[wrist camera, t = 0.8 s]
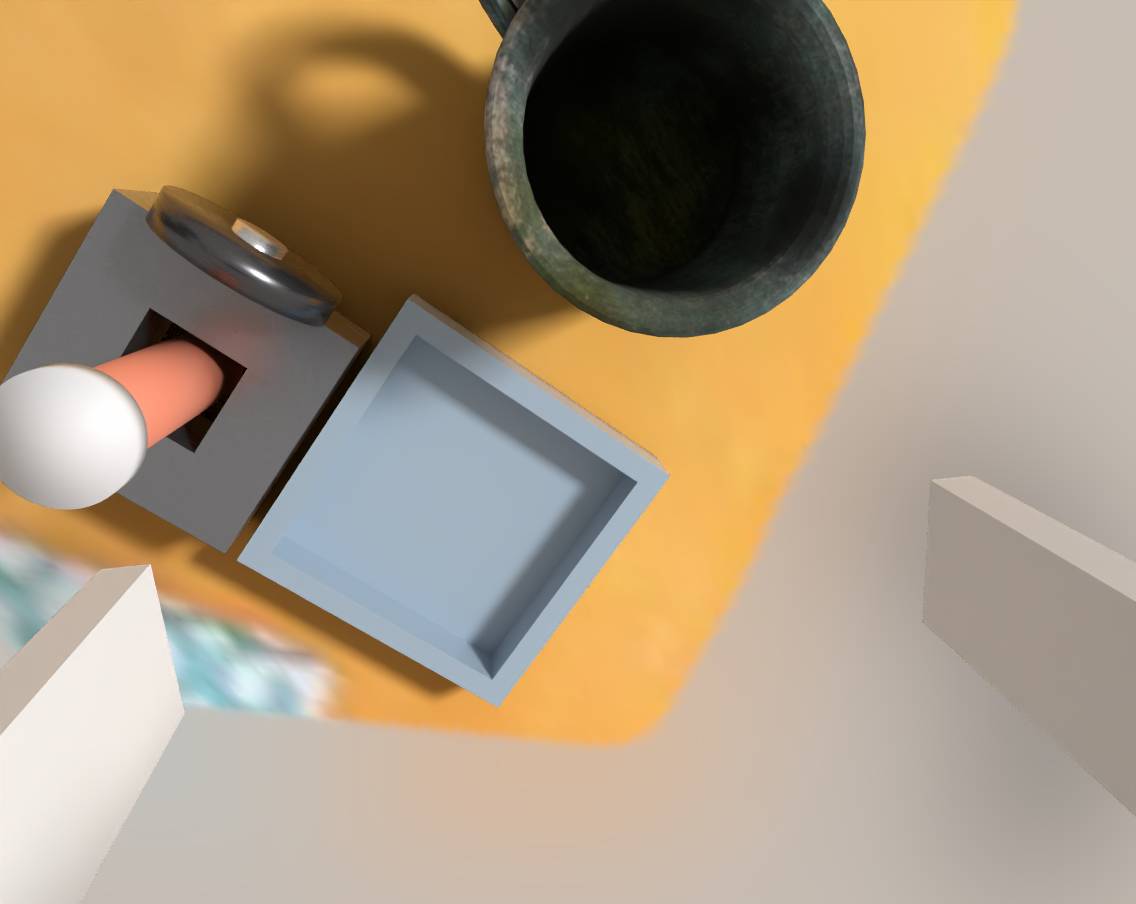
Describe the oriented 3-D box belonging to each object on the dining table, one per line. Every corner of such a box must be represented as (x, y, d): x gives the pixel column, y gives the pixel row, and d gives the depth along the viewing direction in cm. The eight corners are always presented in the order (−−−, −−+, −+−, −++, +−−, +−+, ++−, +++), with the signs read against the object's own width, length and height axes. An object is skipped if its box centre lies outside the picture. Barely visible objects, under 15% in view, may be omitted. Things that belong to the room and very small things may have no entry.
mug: (600, 354, 37) (653, 413, 26) (370, 76, 34) (311, -1, 22) (795, 190, 36) (940, 175, 25) (580, -116, 33) (634, -301, 21)
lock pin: (138, 377, 36) (-47, 460, 23) (186, 298, 35) (22, 340, 23) (224, 429, 37) (91, 535, 24) (272, 353, 36) (161, 421, 23)
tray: (255, 534, 38) (236, 560, 35) (413, 292, 36) (407, 298, 33) (497, 673, 41) (498, 707, 38) (656, 457, 39) (670, 475, 36)
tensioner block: (36, 396, 36) (-78, 440, 28) (175, 158, 34) (92, 140, 26) (251, 520, 38) (196, 590, 31) (392, 303, 36) (369, 323, 29)
